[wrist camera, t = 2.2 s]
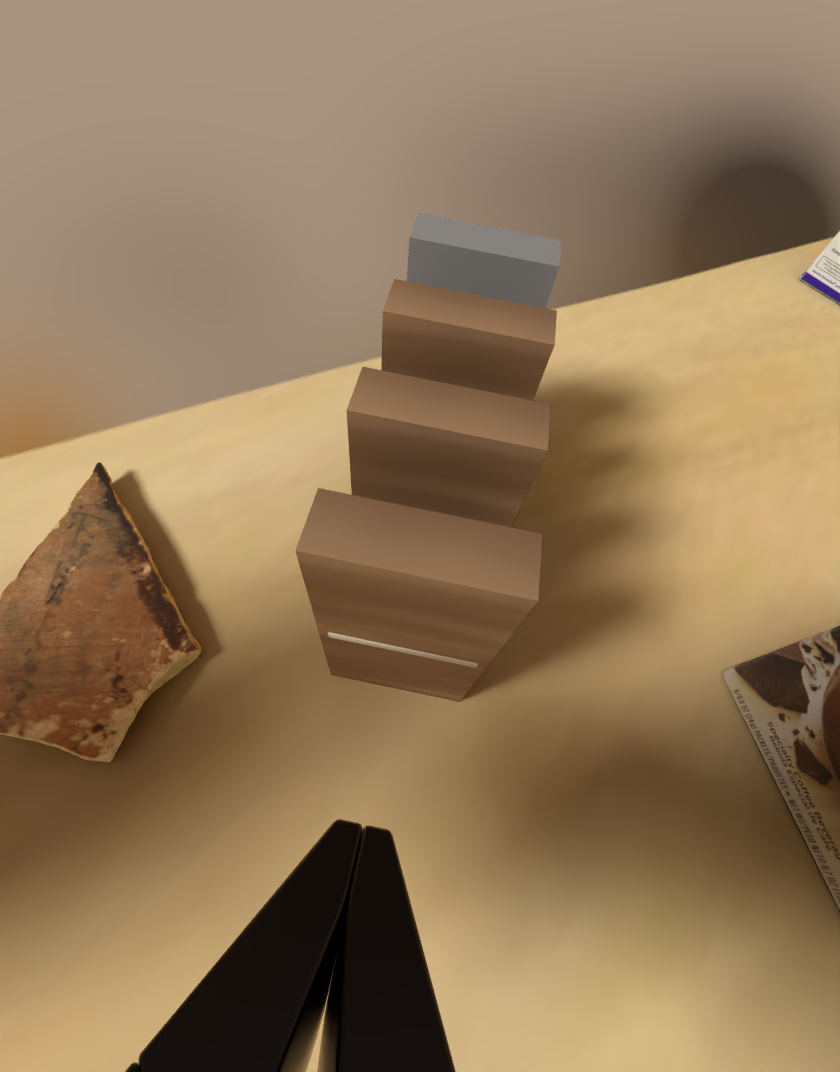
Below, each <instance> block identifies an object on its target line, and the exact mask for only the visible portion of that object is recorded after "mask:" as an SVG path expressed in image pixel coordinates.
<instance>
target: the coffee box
mask: <svg viewBox="0 0 840 1072" xmlns="http://www.w3.org/2000/svg"><path fill="white" fill-rule="evenodd" d="M723 677H724V679H725V681H726V683H727V685H728V687H729V690H730V692H731V694H732V696H733V698H734V699H735V701H736V703H737V705H738V707H739V709H740V711H741V713H742V715H743V717H744V719H745V721H746V723H747V725H748V727H749V729H750V731H751V733H752V735H753V737H754V739H755V741H756V743H757V745H758V747H759V749H760V751H761V753H762V755H763V757H764V759H765V761H766V763H767V765H768V767H769V769H770V771H771V773H772V775H773V777H774V779H775V781H776V783H777V785H778V787H779V789H780V791H781V793H782V795H783V797H784V799H785V801H786V803H787V805H788V807H789V809H790V811H791V813H792V815H793V817H794V819H795V821H796V823H797V825H798V827H799V829H800V831H801V833H802V835H803V837H804V839H805V841H806V843H807V845H808V847H809V850H810V852H811V854H812V856H813V858H814V860H815V862H816V864H817V866H818V868H819V870H820V872H821V874H822V876H823V878H824V880H825V882H826V884H827V886H828V888H829V890H830V892H831V894H832V896H833V898H834V900H835V902H836V904H837V906H838V908H839V910H840V626H838V627H835V628H833V629H830V630H828V631H825V632H823V633H820V634H818V635H815V636H812V637H810V638H807V639H804V640H802V641H799V642H797V643H794V644H791V645H789V646H786V647H783V648H781V649H778V650H776V651H774V652H771V653H769V654H766V655H763V656H760V657H758V658H755V659H752V660H750V661H747V662H744V663H741V664H739V665H735V666H732V667H729V668H727V669H725V670H724V671H723Z"/></svg>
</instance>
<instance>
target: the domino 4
mask: <svg viewBox="0 0 840 1072" xmlns="http://www.w3.org/2000/svg"><path fill="white" fill-rule="evenodd" d="M542 535H543V534H541V533H536V532H531V531H526V530H521V529H516V528H511V527H506V526H501V525H497V524H492V523H487V522H482V521H477V520H472V519H467V518H462V517H457V516H452V515H447V514H443V513H438V512H433V511H428V510H423V509H418V508H413V507H408V506H403V505H398V504H393V503H389V502H384V501H379V500H374V499H369V498H364V497H359V496H354V495H349V494H344V493H339V492H334V491H330V490H325V489H320V488H318V490H317V493H316V496H315V499H314V501H313V504H312V507H311V510H310V512H309V515H308V518H307V521H306V523H305V526H304V529H303V532H302V534H301V537H300V540H299V543H298V545H297V548H296V554H297V558H298V561H299V565H300V568H301V572H302V575H303V579H304V582H305V585H306V589H307V592H308V596H309V599H310V603H311V606H312V610H313V613H314V617H315V620H316V624H317V627H318V631H319V634H320V637H321V641H322V644H323V648H324V651H325V655H326V658H327V662H328V665H329V669H330V672H331V675H335V676H340V677H345V678H350V679H354V680H359V681H364V682H369V683H373V684H378V685H383V686H388V687H392V688H397V689H402V690H407V691H411V692H416V693H421V694H426V695H430V696H435V697H440V698H445V699H449V700H454V701H459V702H460V701H461V700H462V698H463V697H464V696H465V694H466V693H467V692H468V691H469V689H470V688H471V687H472V685H473V684H474V683H475V682H476V680H477V679H478V678H479V676H480V675H481V674H482V673H483V671H484V670H485V669H486V667H487V666H488V665H489V664H490V662H491V661H492V660H493V658H494V657H495V656H496V655H497V653H498V652H499V651H500V649H501V648H502V647H503V646H504V644H505V643H506V642H507V641H508V639H509V638H510V637H511V635H512V634H513V633H514V632H515V630H516V629H517V628H518V626H519V625H520V624H521V623H522V621H523V620H524V619H525V617H526V616H527V615H528V614H529V612H530V611H531V610H532V608H533V607H534V606H535V605H536V603H537V602H538V599H539V583H540V567H541V551H542Z"/></svg>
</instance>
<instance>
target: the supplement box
mask: <svg viewBox="0 0 840 1072" xmlns="http://www.w3.org/2000/svg"><path fill="white" fill-rule="evenodd" d="M800 280H801V281H803V282H804V283H805V284H807V285H809V286H810V287H812V288H813V289H815V290H817V291H819V292H820V293H822V294H824V295H825V296H827V297H829V298H830V299H832V300H833V301H835V302H836V303H838V304H840V232H839V233H838V234H837V235H836V236H835V237H834V238H833V239H832V241H831V242H830V243H829V244H828V246H827V247H826V248H825V249H824V250H823V251H822V253H821V254H820V255H819V256H818V257H817V259H816V260H815V261H814V262H813V263H812V264H811V266H810V267H809V268H808V269H807V270H806V271H805V273H804V274H803V275H802V276H801V277H800Z"/></svg>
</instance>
